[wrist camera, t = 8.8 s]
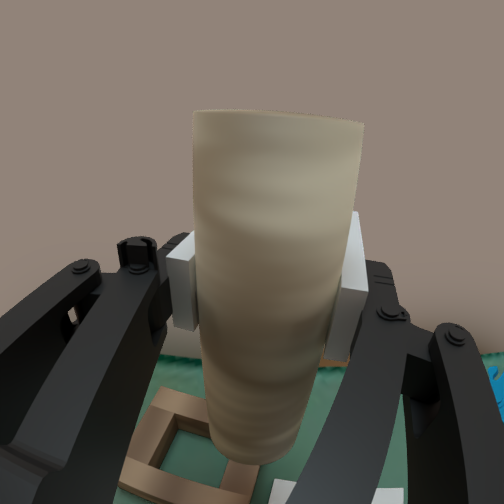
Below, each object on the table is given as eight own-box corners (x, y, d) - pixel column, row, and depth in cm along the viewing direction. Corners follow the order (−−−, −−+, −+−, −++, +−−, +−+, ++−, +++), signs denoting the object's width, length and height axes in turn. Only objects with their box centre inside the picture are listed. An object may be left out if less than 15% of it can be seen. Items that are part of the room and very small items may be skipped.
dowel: (303, 404, 15) (358, 120, 9) (287, 473, 12) (374, 129, 5) (225, 387, 16) (226, 108, 10) (196, 451, 13) (159, 114, 6)
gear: (455, 379, 30) (525, 346, 24) (465, 398, 31) (528, 368, 25) (461, 460, 21) (546, 426, 15) (469, 471, 22) (544, 441, 17)
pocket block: (269, 430, 27) (273, 414, 26) (241, 529, 17) (242, 522, 16) (165, 403, 29) (160, 385, 28) (119, 487, 19) (108, 475, 18)
